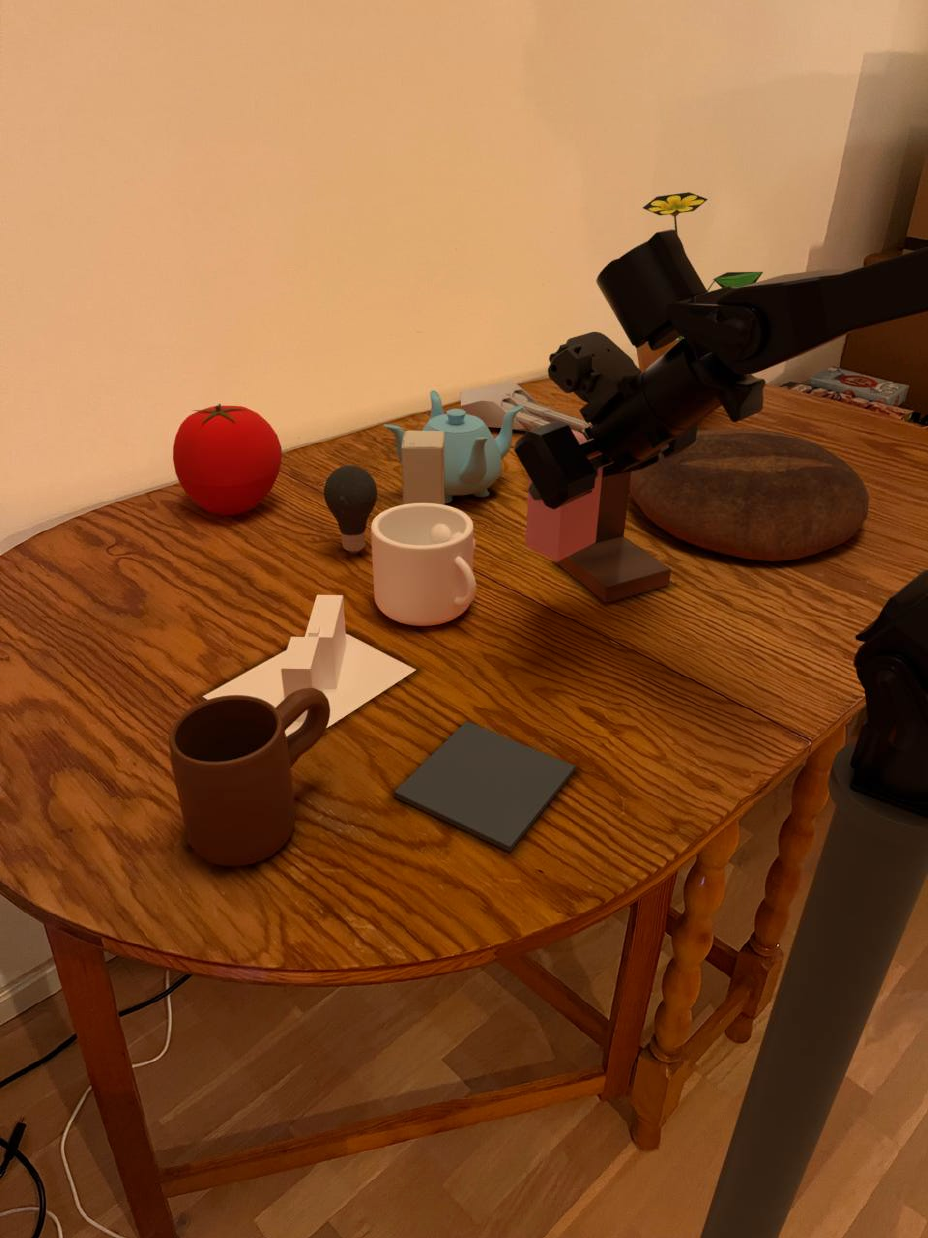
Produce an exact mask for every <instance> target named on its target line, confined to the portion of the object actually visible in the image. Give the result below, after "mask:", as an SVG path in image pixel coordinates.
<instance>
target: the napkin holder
mask: <svg viewBox="0 0 928 1238" xmlns="http://www.w3.org/2000/svg"><path fill="white" fill-rule="evenodd" d="M344 603H345V602H344V594H317V595H316V597H315V601H314V604H313V607H312V610H311V614H310V617H309V621H308V625H307V627H306V630H305V634H304V636H290V639H289V642H288V645H287V648H286V650H283V651H282V652H280V653H278V654H277V655H275V656H273V657H271V658H269V659H267V660H266V661H264V662H262V663H260V664H259V665H257V666H255V667H252V669H249V670H247V671H246V672H244V673H242V674H240V675H239V676H236V677H235V678H233V679H232V680H230V681H227V682H226V683H224V684H222V685H221V686H219V687H217V688H215V689H214V690H212V691H209V692H208V693H206V694H205V695H202V698H204V699H205V700H209V699H212V698H216V697H221V696H229V695H245V696H252V697H256V698H259V699H262V700H264V701H266V702H268V703H270V704H271V705H273V706H274V707H275V708H276V707H277V706H278V705H279V704H280V703H281V702H282V701H283V700H284V699H285V698H286V697H287V696H288V695H289V694H291V693H293V692H295V691H297V690H300V689H304V688H312V687H313V688H315V689H318V690H320V691H322V692H323V693H324V694H325V696H326V697H327V699H328V700H329V705H330V718H329V722H328V725H327V727H326V729H327V728H329V727H331V726H332V725H334V724H335V723H337V722H339V721H340V720H342V719H343V718H345V717H346V716H348V715H349V714H351V713H353V712H354V711H355V710H357V709H359V708H360V707H362V706H364V705H365V704H366V703H367V702H369V701H371V700H372V699H374V698H375V697H377V696H378V695H380V694H381V693H383V692H385V691H386V690H388V689H389V688H391V687H392V686H394V685H395V684H397V683H398V682H400V681H402V680H403V679H404V678H406V677H407V676H409V675H411V674H412V673H414V672H415V671H416V668H413V667H412V666H410V665H408V664H406V663H404V662H402V661H400V660H398V659H396V658H394V657H392V656H391V655H389V654H387V653H385V652H382V651H381V650H379V649H377V648H374V647H373V646H371V645H369V644H367V643H365V642H364V641H361V640H360V639H357V637H354V636H352V635H350V634H348V633H346V632H347V631H346V619H345V617H346V616H345V604H344ZM307 713H308V710H306V711H305V712H304V713H303V714H302V715H301V716H300V717H299V718H297V719H296V720H295V721H294V722H293V723H292V724H291V725H290V726H289V727H288V728H287V729H286V730H285V734H286V737H287V736H288V735H290V734H291V733H293V732H295V731H296V730H298V729H299V728H300V727H301V726H302V724H303V723H304V721H305V719H306V716H307Z"/></svg>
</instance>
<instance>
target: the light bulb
mask: <svg viewBox="0 0 928 1238" xmlns="http://www.w3.org/2000/svg"><path fill="white" fill-rule="evenodd" d="M377 487H378V486H377V484H376V480H375V479H374V478H373V476H372V475H371V474H370V472H368V471H367V470H366V469H365V468H363V467H361V466H358V465H353V464H348V465H347V464H346V465H342V466H340V467H337V468H336V469H334V470H333V471H332V472H331V473H330V474H329V476H328V477H327V478H326V481H325V483H324V487H323V496H324V501H325V504H326V506H327V509H328V510H329V511H330V513H331V514H332V515H333V517H334V519H335V520H336V522H337V524H338V529H339V531H340V533H341V534H340V535H341V545H342V548H343V549H344V550H345V551H347V552H349V553H350V554H353V555H355V554H358V553H359V552H360V551H361V550H362V549H364V548H365V546H366V545H365V544H366V534H365V532H366V529H367V522H368V520H369V517H370V515H371V513H372V512H373V510H374V508H375V507H376V504H377V499H378V488H377Z"/></svg>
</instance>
